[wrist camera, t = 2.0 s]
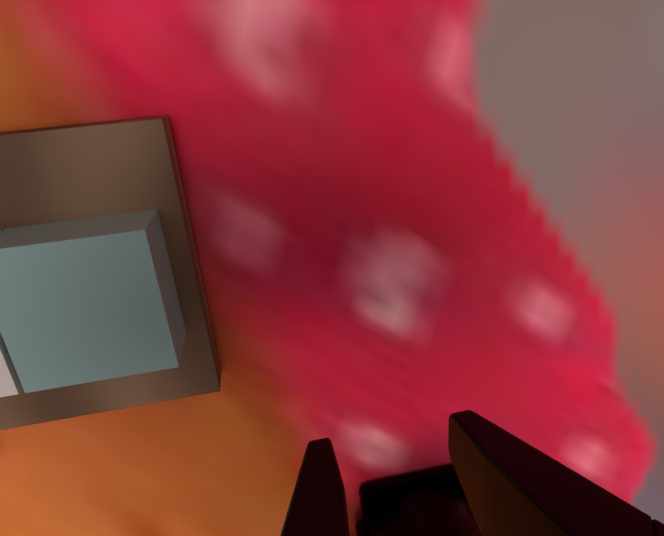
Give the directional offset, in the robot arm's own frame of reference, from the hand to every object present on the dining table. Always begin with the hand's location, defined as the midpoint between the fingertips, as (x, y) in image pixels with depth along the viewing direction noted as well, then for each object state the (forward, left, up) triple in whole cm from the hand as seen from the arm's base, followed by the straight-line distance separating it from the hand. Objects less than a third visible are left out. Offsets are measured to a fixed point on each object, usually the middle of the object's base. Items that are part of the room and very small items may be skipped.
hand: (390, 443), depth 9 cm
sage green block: (+8, 0, -10) cm, 13 cm away
